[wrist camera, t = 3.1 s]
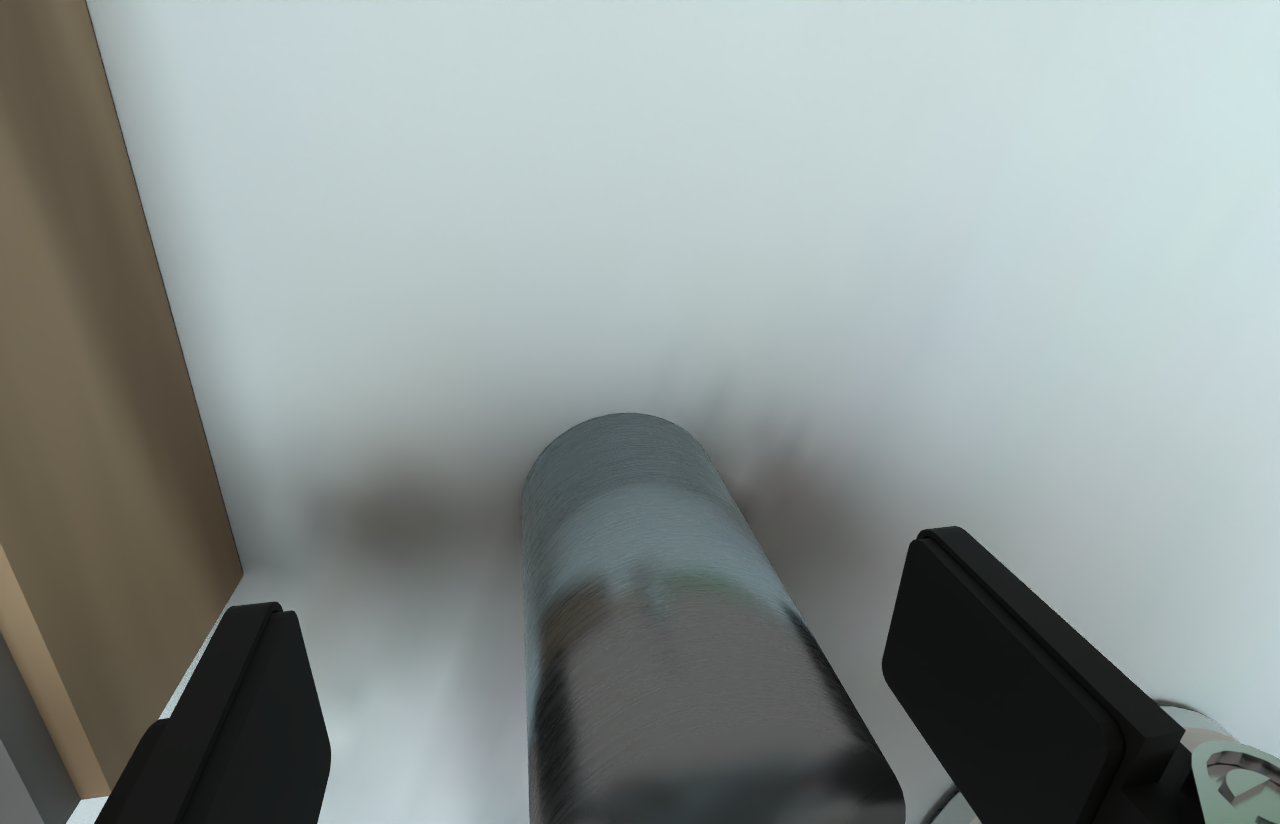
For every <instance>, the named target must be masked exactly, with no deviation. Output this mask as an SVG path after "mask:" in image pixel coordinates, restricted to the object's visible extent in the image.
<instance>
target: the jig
mask: <svg viewBox="0 0 1280 824" xmlns="http://www.w3.org/2000/svg"><path fill="white" fill-rule="evenodd" d="M242 577H243V572H242V569H241V565H240V561H239V558H238V554H237V550H236V547H235V543H234V540H233V536H232V532H231V529H230V525H229V521H228V518H227V514H226V511H225V507H224V503H223V500H222V496H221V492H220V489H219V485H218V482H217V478H216V474H215V471H214V467H213V463H212V460H211V456H210V453H209V449H208V445H207V442H206V438H205V434H204V431H203V427H202V424H201V420H200V416H199V413H198V409H197V405H196V402H195V398H194V395H193V391H192V387H191V384H190V380H189V376H188V373H187V369H186V366H185V362H184V358H183V355H182V351H181V347H180V344H179V340H178V337H177V333H176V329H175V326H174V322H173V318H172V315H171V311H170V308H169V304H168V300H167V297H166V293H165V289H164V286H163V282H162V279H161V275H160V271H159V268H158V264H157V260H156V257H155V253H154V250H153V246H152V242H151V239H150V235H149V231H148V228H147V224H146V221H145V217H144V213H143V210H142V206H141V202H140V199H139V195H138V192H137V188H136V184H135V181H134V177H133V173H132V170H131V166H130V163H129V159H128V155H127V152H126V148H125V144H124V141H123V137H122V134H121V130H120V126H119V123H118V119H117V115H116V112H115V108H114V105H113V101H112V97H111V94H110V90H109V86H108V83H107V79H106V76H105V72H104V68H103V65H102V61H101V57H100V54H99V50H98V47H97V43H96V39H95V36H94V32H93V28H92V25H91V21H90V18H89V14H88V10H87V7H86V3H85V0H0V824H66V822H67V821H68V819H69V818H70V816H71V815H72V813H73V811H74V810H75V808H76V807H77V805H78V804H79V802H80V800H83V799H90V798H97V797H105V796H110V794H111V792H112V790H113V788H114V787H115V785H116V783H117V781H118V779H119V778H120V776H121V774H122V772H123V770H124V768H125V767H126V765H127V763H128V761H129V759H130V758H131V756H132V754H133V752H134V750H135V749H136V747H137V745H138V743H139V741H140V739H141V738H142V736H143V735H144V734H145V732H146V731H147V729H148V728H149V727H150V726H151V725H152V724H153V723H155V722H156V721H157V720H158V718H159V717H160V715H161V713H162V712H163V710H164V708H165V707H166V705H167V703H168V702H169V700H170V698H171V696H172V695H173V693H174V691H175V690H176V688H177V686H178V685H179V683H180V681H181V680H182V678H183V676H184V675H185V673H186V671H187V669H188V668H189V666H190V664H191V663H192V661H193V659H194V658H195V656H196V654H197V653H198V651H199V649H200V648H201V646H202V644H203V642H204V641H205V639H206V637H207V636H208V634H209V632H210V631H211V629H212V627H213V626H214V624H215V622H216V621H217V619H218V617H219V615H220V614H221V612H222V610H223V609H224V607H225V605H226V604H227V602H228V600H229V599H230V597H231V595H232V594H233V592H234V590H235V588H236V587H237V585H238V583H239V582H240V580H241V578H242Z"/></svg>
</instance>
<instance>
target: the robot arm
mask: <svg viewBox="0 0 1280 824" xmlns="http://www.w3.org/2000/svg"><path fill="white" fill-rule="evenodd" d="M882 671H883V675H884V678H885V681H886V683H887V684H888V686H889V688H890V689H891V690H892V692H893V693H894V695H895V696H896V698H897V699H898V701H899V702H900V704H901V705H902V707H903V708H904V710H905V711H906V713H907V714H908V716H909V717H910V718H911V720H912V721H913V723H914V724H915V726H916V727H917V729H918V730H919V732H920V733H921V735H922V736H923V738H924V739H925V741H926V742H927V743H928V745H929V746H930V748H931V749H932V751H933V752H934V754H935V755H936V757H937V758H938V760H939V761H940V763H941V764H942V766H943V767H944V769H945V770H946V771H947V773H948V774H949V776H950V777H951V779H952V780H953V782H954V783H955V785H956V786H957V788H958V789H959V791H960V792H958V793H957V794H956V795H955V796H954V797H953V798H952V799H951V800H950V801H949V802H948V803H947V804H946V806H945V807H944V808H943V809H942V811H941V812H940V813H939V814H938V815H937V817H936V818H935V819H934V820H933V821H932V823H931V824H1280V760H1279V759H1278V758H1276V757H1274V756H1272V755H1270V754H1267V753H1265V752H1263V751H1260V750H1258V749H1256V748H1253V747H1251V746H1247V745H1243V744H1240V743H1239V742H1238V741H1237V740H1236V739H1235V738H1234V737H1232V736H1231V735H1230V734H1229V733H1228V732H1227V731H1226V730H1224V729H1223V728H1222V727H1221V726H1220V725H1219V724H1218V723H1216V722H1215V721H1213V720H1211V719H1209V718H1207V717H1206V716H1204V715H1202V714H1200V713H1198V712H1195V711H1190V710H1186V709H1182V708H1177V707H1173V706H1159V705H1157V704H1156V703H1155V702H1154V701H1153V700H1152V699H1151V698H1150V697H1149V696H1147V695H1146V694H1145V693H1144V692H1143V691H1142V690H1141V689H1140V688H1139V687H1138V686H1136V685H1135V684H1134V683H1133V682H1132V681H1131V680H1130V679H1129V678H1128V677H1126V676H1125V675H1124V674H1123V673H1122V672H1121V671H1120V670H1119V669H1118V668H1117V667H1115V666H1114V665H1113V664H1112V663H1111V662H1110V661H1109V660H1108V659H1107V658H1105V657H1104V656H1103V655H1102V654H1101V653H1100V652H1099V651H1098V650H1097V649H1096V648H1094V647H1093V646H1092V645H1091V644H1090V643H1089V642H1088V641H1087V640H1086V639H1085V638H1083V637H1082V636H1081V635H1080V634H1079V633H1078V632H1077V631H1076V630H1075V629H1073V628H1072V627H1071V626H1070V625H1069V624H1068V623H1067V622H1066V621H1065V620H1064V619H1062V618H1061V617H1060V616H1059V615H1058V614H1057V613H1056V612H1055V611H1054V610H1052V609H1051V608H1050V607H1049V606H1048V605H1047V604H1046V603H1045V602H1044V601H1043V600H1041V599H1040V598H1039V597H1038V596H1037V595H1036V594H1035V593H1034V592H1033V591H1031V590H1030V589H1029V588H1028V587H1027V586H1026V585H1025V584H1024V583H1023V582H1022V581H1020V580H1019V579H1018V578H1017V577H1016V576H1015V575H1014V574H1013V573H1012V572H1010V571H1009V570H1008V569H1007V568H1006V567H1005V566H1004V565H1003V564H1002V563H1001V562H999V561H998V560H997V559H996V558H995V557H994V556H993V555H992V554H991V553H989V552H988V551H987V550H986V549H985V548H984V547H983V546H982V545H981V544H980V543H978V542H977V541H976V540H975V539H974V538H973V537H972V536H971V535H970V534H969V533H967V532H966V531H965V530H964V529H962V528H961V527H957V526H951V527H942V528H933V529H925V530H922V531H921V532H920V533H919V534H918V536H917V539H916V540H913V541H912V542H911V543H910V545H909V548H908V552H907V556H906V561H905V565H904V569H903V573H902V578H901V582H900V586H899V590H898V595H897V599H896V603H895V608H894V612H893V616H892V620H891V625H890V629H889V633H888V637H887V642H886V646H885V650H884V654H883V659H882ZM330 765H331V747H330V742H329V738H328V734H327V730H326V726H325V722H324V718H323V715H322V711H321V707H320V703H319V699H318V695H317V691H316V687H315V683H314V679H313V676H312V672H311V668H310V664H309V660H308V656H307V652H306V648H305V644H304V641H303V637H302V633H301V629H300V625H299V621H298V618H297V615H296V613H295V612H294V611H284V612H283V609H282V607H281V605H280V604H279V603H278V602H267V603H258V604H249V605H240V606H232V607H230V608H228V609H227V611H226V612H225V614H224V615H223V617H222V619H221V621H220V623H219V625H218V627H217V629H216V630H215V632H214V634H213V636H212V638H211V640H210V642H209V644H208V646H207V648H206V650H205V651H204V653H203V655H202V657H201V659H200V661H199V663H198V665H197V667H196V669H195V671H194V672H193V674H192V676H191V678H190V680H189V682H188V684H187V686H186V688H185V690H184V692H183V694H182V695H181V697H180V699H179V701H178V703H177V705H176V707H175V709H174V711H173V713H172V715H171V716H170V718H166V719H160V720H157V721H156V722H155V723H153V724H152V725H151V726H150V727H149V728H148V729H147V731H146V732H145V734H144V735H143V736H142V738H141V739H140V741H139V743H138V745H137V747H136V749H135V750H134V752H133V754H132V756H131V758H130V759H129V761H128V763H127V765H126V767H125V768H124V770H123V772H122V774H121V776H120V778H119V779H118V781H117V783H116V785H115V787H114V788H113V790H112V792H111V794H110V796H109V798H108V799H107V801H106V803H105V805H104V807H103V808H102V810H101V812H100V814H99V816H98V817H97V819H96V821H95V823H94V824H317V822H318V818H319V814H320V810H321V806H322V802H323V798H324V793H325V789H326V785H327V781H328V777H329V772H330Z"/></svg>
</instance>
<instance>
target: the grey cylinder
mask: <svg viewBox="0 0 1280 824" xmlns="http://www.w3.org/2000/svg"><path fill="white" fill-rule="evenodd" d="M522 541H523V579H524V618H525V657H526V696H527V735H528V773H529V812H530V824H905V802H904V797H903V792H902V789H901V787H900V785H899V783H898V780H897V778H896V776H895V774H894V773H893V771H892V769H891V768H890V766H889V764H888V763H887V761H886V759H885V757H884V756H883V754H882V752H881V751H880V749H879V747H878V745H877V744H876V742H875V740H874V739H873V737H872V735H871V734H870V732H869V730H868V728H867V727H866V725H865V723H864V722H863V720H862V718H861V716H860V715H859V713H858V711H857V710H856V708H855V706H854V705H853V703H852V701H851V699H850V698H849V696H848V694H847V693H846V691H845V689H844V687H843V686H842V684H841V682H840V681H839V679H838V677H837V676H836V674H835V672H834V670H833V669H832V667H831V665H830V664H829V662H828V660H827V658H826V657H825V655H824V653H823V652H822V650H821V648H820V647H819V645H818V643H817V641H816V640H815V638H814V636H813V635H812V633H811V631H810V629H809V628H808V626H807V624H806V623H805V621H804V619H803V618H802V616H801V614H800V612H799V611H798V609H797V607H796V606H795V604H794V602H793V600H792V599H791V597H790V595H789V594H788V592H787V590H786V589H785V587H784V585H783V583H782V582H781V580H780V578H779V577H778V575H777V573H776V571H775V570H774V568H773V566H772V565H771V563H770V561H769V560H768V558H767V556H766V554H765V553H764V551H763V549H762V548H761V546H760V544H759V542H758V541H757V539H756V537H755V536H754V534H753V532H752V531H751V529H750V527H749V525H748V524H747V522H746V520H745V519H744V517H743V515H742V513H741V512H740V510H739V508H738V507H737V505H736V503H735V502H734V500H733V498H732V496H731V495H730V493H729V491H728V490H727V488H726V486H725V484H724V483H723V481H722V479H721V478H720V476H719V474H718V473H717V471H716V469H715V467H714V466H713V464H712V462H711V461H710V459H709V457H708V455H707V454H706V452H705V451H704V449H703V448H702V447H701V445H700V444H699V443H698V442H697V441H696V440H695V439H694V438H693V437H692V436H691V435H690V434H689V433H687V432H686V431H685V430H684V429H682V428H680V427H679V426H677V425H675V424H673V423H671V422H669V421H666V420H664V419H661V418H658V417H654V416H650V415H644V414H636V413H620V414H612V415H606V416H602V417H598V418H594V419H591V420H589V421H586V422H583V423H581V424H579V425H577V426H575V427H573V428H571V429H569V430H568V431H566V432H565V433H563V434H562V435H561V436H559V437H558V438H557V439H556V440H554V441H553V442H552V443H551V444H550V445H549V446H548V447H547V448H546V449H545V450H544V451H543V452H542V454H541V455H540V456H539V458H538V459H537V460H536V462H535V463H534V465H533V467H532V469H531V471H530V473H529V475H528V477H527V480H526V483H525V486H524V490H523V496H522Z"/></svg>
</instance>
